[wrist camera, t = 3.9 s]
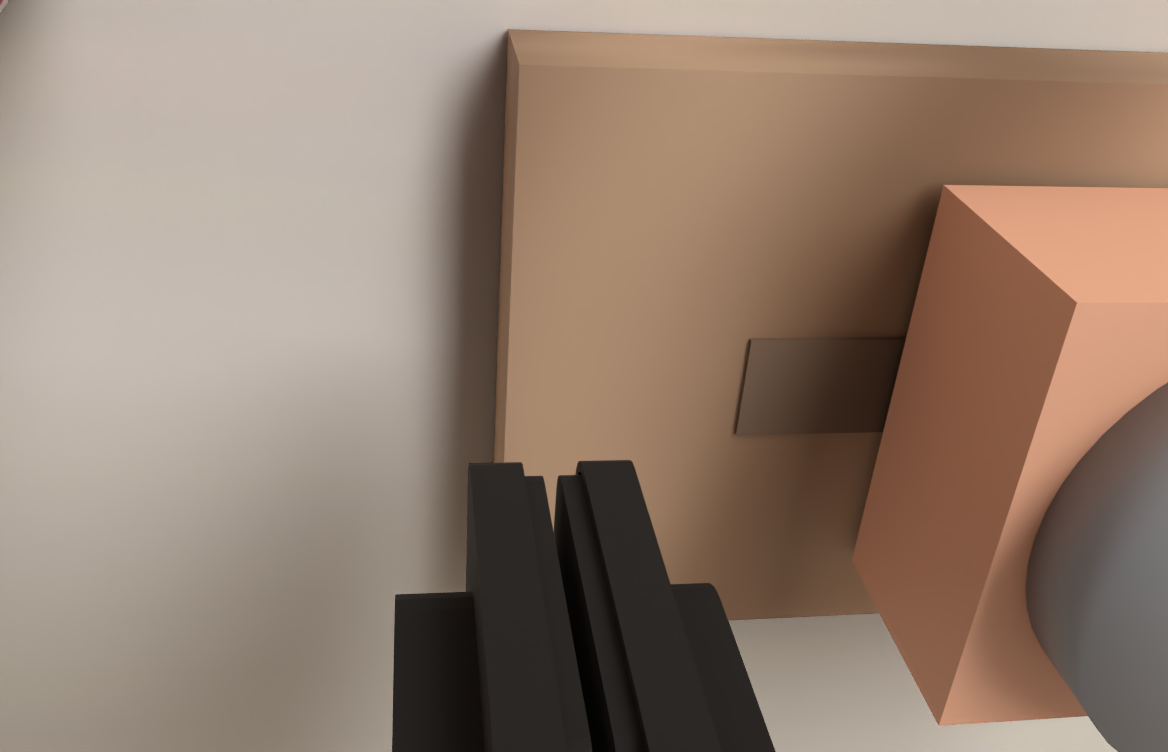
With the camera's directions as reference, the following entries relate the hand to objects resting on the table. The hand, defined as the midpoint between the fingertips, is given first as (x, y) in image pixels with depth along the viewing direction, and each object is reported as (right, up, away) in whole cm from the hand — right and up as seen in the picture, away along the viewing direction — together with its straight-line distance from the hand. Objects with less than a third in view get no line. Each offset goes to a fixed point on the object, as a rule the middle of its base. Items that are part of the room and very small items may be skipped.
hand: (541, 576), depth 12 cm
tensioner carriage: (+7, +2, +3) cm, 8 cm away
